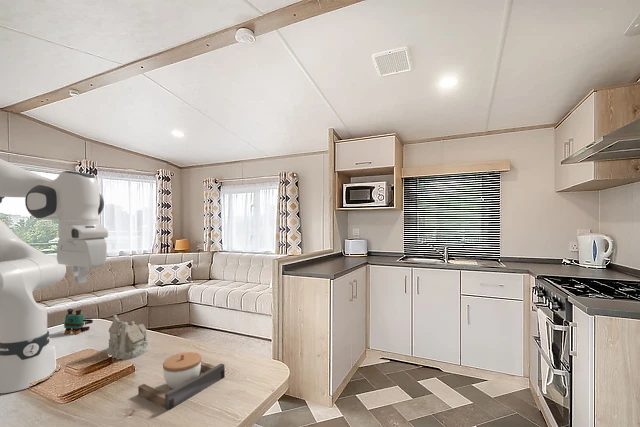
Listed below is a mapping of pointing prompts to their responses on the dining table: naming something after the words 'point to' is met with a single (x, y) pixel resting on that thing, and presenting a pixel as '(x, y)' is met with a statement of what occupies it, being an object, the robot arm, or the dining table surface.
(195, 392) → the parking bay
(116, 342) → the ceramic cottage
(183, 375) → the lidded jar
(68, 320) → the binoculars
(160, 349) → the dining table surface
